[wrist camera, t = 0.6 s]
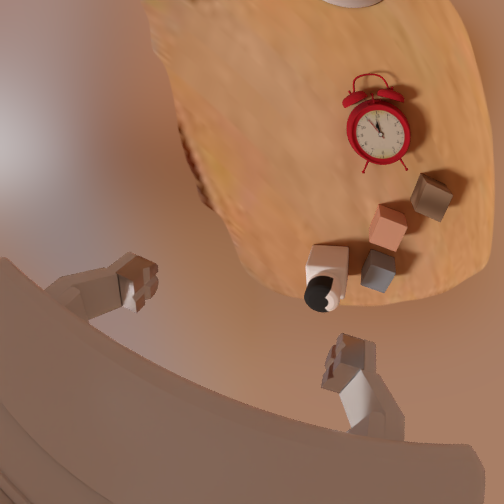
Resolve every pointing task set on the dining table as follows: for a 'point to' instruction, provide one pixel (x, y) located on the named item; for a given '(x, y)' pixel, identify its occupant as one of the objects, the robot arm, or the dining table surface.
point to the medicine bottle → (326, 277)
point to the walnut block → (431, 197)
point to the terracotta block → (387, 228)
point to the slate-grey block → (378, 271)
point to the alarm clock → (377, 127)
